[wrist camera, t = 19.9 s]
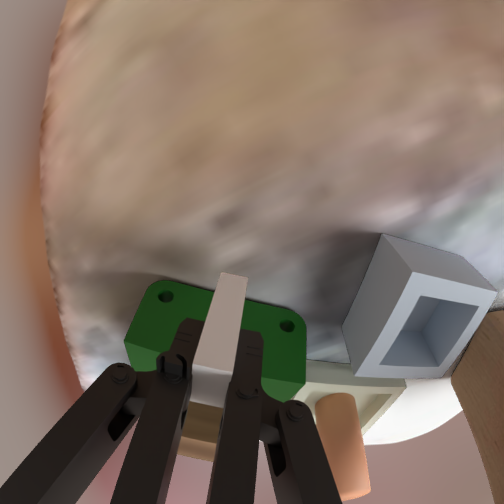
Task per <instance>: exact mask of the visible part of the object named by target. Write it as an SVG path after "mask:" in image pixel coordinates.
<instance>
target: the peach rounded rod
mask: <svg viewBox="0 0 504 504" xmlns="http://www.w3.org/2000/svg"><path fill="white" fill-rule="evenodd" d="M315 417H316V427H317V430H318V433H319V436H320V439H321V441H322V444H323V447H324V450H325V453H326V456H327V459H328V462H329V465H330V468H331V471H332V474H333V477H334V480H335V483H336V486H337V489H338V492H339V495H340V498H341V501H345V500H350V499H354V498H358V497H361V496H363V495H366V494H368V493H369V492H370V491H371V488H370V481H369V474H368V467H367V461H366V456H365V449H364V443H363V438H362V432H361V427H360V422H359V417H358V412H357V407H356V402H355V398H354V396H353V395H351V394H348V393H334V394H330V395H327V396H324V397H322V398H321V399H319V400H318V401H317V402H316V404H315Z"/></svg>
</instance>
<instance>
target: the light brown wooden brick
mask: <svg viewBox="0 0 504 504" xmlns="http://www.w3.org/2000/svg"><path fill="white" fill-rule="evenodd" d="M222 413H223V408H220V407H215V406H210V405H206V404H201V403H197V402H192V401H189V404H188V412H187V416H186V420H185V424H184V428H183V432H182V436H181V440H180V444H179V448H178V452H177V454H179V455H183V456H187V457H192V458H196V459H201V460H206V461H211V462H214V456H215V450H216V445H217V439H218V433H219V428H220V427H219V425H220V421H221V417H222Z"/></svg>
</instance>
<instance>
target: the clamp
mask: <svg viewBox="0 0 504 504" xmlns="http://www.w3.org/2000/svg"><path fill="white" fill-rule="evenodd" d="M214 293H215V292H211V291H207V290H203V289H199V288H195V287H192V286H188V285H184V284H180V283H177V282H173V281H168V280H162V281H158V282H155V283H153V284H152V285H150V286H149V287H148V289H147V291H146V293H145V295H144V297H143V299H142V301H141V303H140V306H139V308H138V310H137V312H136V314H135V316H134V319H133V321H132V323H131V325H130V328H129V330H128V332H127V334H126V337H125V339H124V344H125V347H126V351H127V354H128V357H129V360H130V364H131V367H132V368H133V369H134V370H135V371H153V370H156V369H157V367H156V358H157V357H158V355H159V354H161V353H163V352H164V351H169V349H170V346H171V344H172V341H173V339H174V337H175V334H176V332H177V329H178V327H179V324H180V323H181V322H182V321H183V320H184V319H186V318H187V317H188V318H192V319H196V320H200V321H206V318H207V315H208V312H209V308H210V305H211V302H212V299H213V296H214ZM240 328H241V329H246V330H251V331H256V332H260V333H261V335H262V338H263V340H264V346H263V361H262V376H261V385H262V388H263V390H264V391H265V393H267V394H268V395H269V396H270V397H272V398H274V399H276V400H279V401H281V402H283V403H284V402H285V401H288V400H290V399H291V398H292V397H293V396H294V395H295V394H296V393H297V392H298V391H299V390H300V389H301V388H302V387H303V386H304V385H305V384H306V324H305V322H304V320H303V319H302V317H301V316H300V315H298V314H297V313H295V312H294V311H291V310H288V309H283V308H278V307H274V306H270V305H265V304H261V303H256V302H252V301H248V300H245V301H244V307H243V313H242V319H241V325H240Z"/></svg>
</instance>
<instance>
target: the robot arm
mask: <svg viewBox="0 0 504 504" xmlns="http://www.w3.org/2000/svg"><path fill="white" fill-rule="evenodd" d="M247 282H248V277H243V276H238V275H234V274H229V273H224V272H221V274H220V277H219V280H218V283H217V286H216V289H215V293H214V296H213V299H212V302H211V305H210V308H209V312H208V315H207V318H206V321H200V320H196V319H192V318H188V317H187V318H186V319H184V320H183V321H182V322H181V323H180V324H179V327H178V329H177V332H176V334H175V337H174V339H173V341H172V344H171V346H170V349H169V351H164V352H163V353H161V354H159V355H158V357H157V358H156V367H157V369H156V370H153V371H135V370H134V369H133V368H132V367H131V366H130V365H127V364H125V363H115V364H112V365H110V366H109V367H108V368H107V369H106V370H105V371H104V372H103V373H102V374H101V375H100V376H99V377H98V378H97V379H96V380H95V381H94V382H93V384H92V385H91V386H90V387H89V388H88V389H87V390H86V391H85V392H84V393H83V394H82V396H81V397H80V398H79V399H78V400H77V401H76V402H75V403H74V404H73V406H71V408H70V409H69V410H68V411H67V412H66V413H65V414H64V416H62V418H61V419H60V420H59V421H58V422H57V423H56V424H55V425H54V426H53V428H52V429H51V430H50V431H49V432H48V433H47V434H46V435H45V437H44V438H43V439H42V440H41V441H40V442H39V443H38V445H37V446H36V447H35V448H34V449H33V451H31V453H30V454H29V455H28V456H27V457H26V458H25V459H24V461H23V462H22V463H21V464H20V465H19V466H18V468H17V469H16V470H15V471H14V472H13V474H12V475H11V476H10V477H9V478H8V480H7V481H6V482H5V483H4V484H3V485H2V487H1V488H0V504H75V503H76V502H77V501H78V499H79V498H80V496H81V495H82V494H83V493H84V491H85V490H86V489H87V487H88V486H89V485H90V483H91V482H92V480H93V479H94V478H95V476H96V475H97V474H98V472H99V471H100V470H101V468H102V467H103V466H104V464H105V463H106V462H107V460H108V459H109V458H110V456H111V455H112V454H113V452H114V451H115V449H116V448H117V447H118V445H119V444H120V443H121V441H122V440H123V439H124V437H125V436H126V435H127V433H128V432H129V430H130V429H131V428H132V426H133V425H134V423H135V422H136V421H137V420H138V418H139V420H138V423H137V425H136V428H135V431H134V434H133V437H132V439H131V442H130V445H129V449H128V451H127V454H126V457H125V459H124V462H123V466H122V468H121V471H120V475H119V477H118V480H117V484H116V486H115V490H114V493H113V496H112V499H111V502H110V504H165V501H166V497H167V493H168V488H169V484H170V480H171V476H172V472H173V467H174V464H175V459H176V456H177V452H178V448H179V444H180V440H181V436H182V432H183V428H184V424H185V420H186V416H187V412H188V404H189V401H192V402H197V403H201V404H206V405H210V406H215V407H220V408H223V413H222V417H221V421H220V425H219V427H220V428H219V433H218V439H217V445H216V450H215V456H214V462H213V467H212V473H211V479H210V484H209V490H208V496H207V502H206V504H253V503H254V494H255V482H256V472H257V460H258V448H259V440H260V441H263V443H264V447H265V452H266V456H267V460H268V465H269V470H270V474H271V479H272V483H273V487H274V492H275V496H276V500H277V504H342V501H341V498H340V495H339V492H338V489H337V486H336V483H335V480H334V477H333V474H332V471H331V468H330V465H329V462H328V459H327V456H326V453H325V450H324V447H323V444H322V441H321V439H320V436H319V433H318V430H317V427H316V424H315V421H314V418H313V415H312V412H311V410H310V408H309V407H308V406H307V405H306V404H305V403H304V402H301V401H299V400H288V401H285V402H284V403H283V402H281V401H279V400H276V399H274V398H272V397H270V396H269V395H268V394H267V393H265V391H264V390H263V388H262V385H261V376H262V361H263V346H264V340H263V338H262V335H261V333H260V332H256V331H251V330H246V329H241V328H240V325H241V319H242V313H243V307H244V301H245V295H246V288H247Z"/></svg>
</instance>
